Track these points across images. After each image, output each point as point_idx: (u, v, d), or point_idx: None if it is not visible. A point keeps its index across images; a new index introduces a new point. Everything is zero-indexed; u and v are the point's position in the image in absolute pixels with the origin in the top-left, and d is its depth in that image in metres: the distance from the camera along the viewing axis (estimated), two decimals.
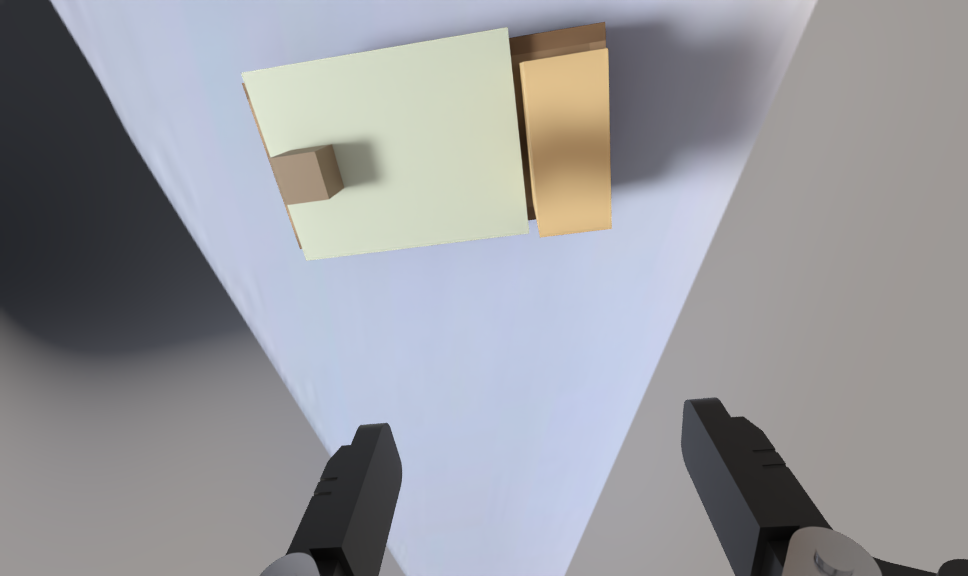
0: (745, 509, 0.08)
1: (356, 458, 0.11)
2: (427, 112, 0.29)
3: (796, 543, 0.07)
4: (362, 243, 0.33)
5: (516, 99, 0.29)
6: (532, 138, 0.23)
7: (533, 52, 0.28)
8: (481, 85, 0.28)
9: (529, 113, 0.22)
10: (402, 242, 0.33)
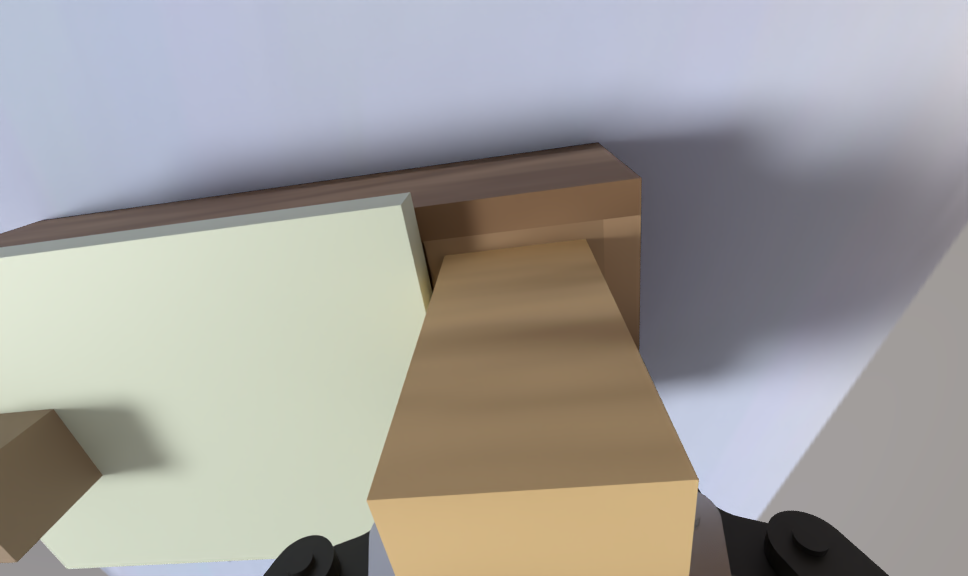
0: None
1: None
2: (240, 362, 0.13)
3: None
4: (163, 550, 0.17)
5: None
6: None
7: (475, 234, 0.12)
8: (352, 318, 0.12)
9: None
10: (238, 552, 0.17)
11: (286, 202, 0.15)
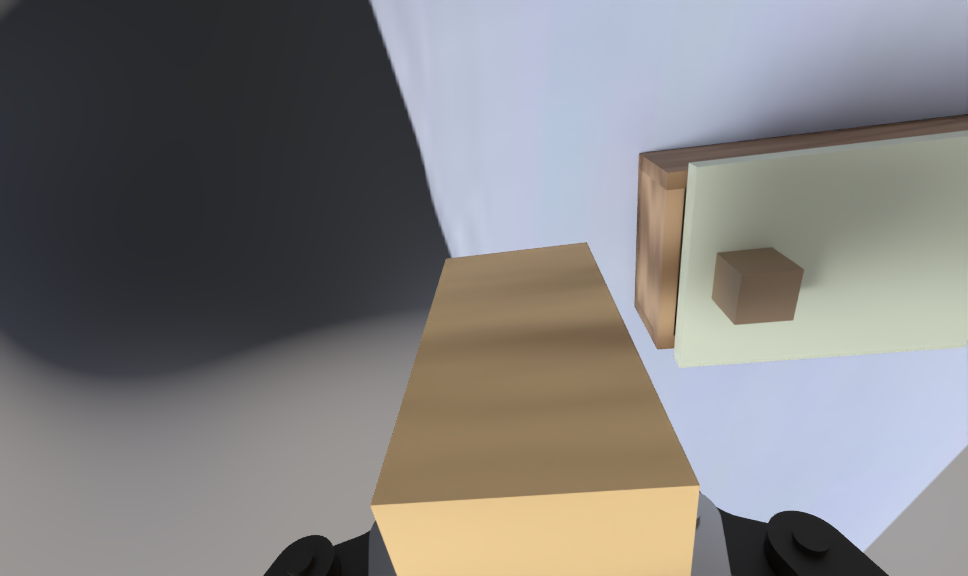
0: None
1: None
2: (908, 216, 0.24)
3: None
4: (756, 352, 0.28)
5: None
6: None
7: None
8: None
9: None
10: (805, 352, 0.28)
11: (875, 136, 0.26)
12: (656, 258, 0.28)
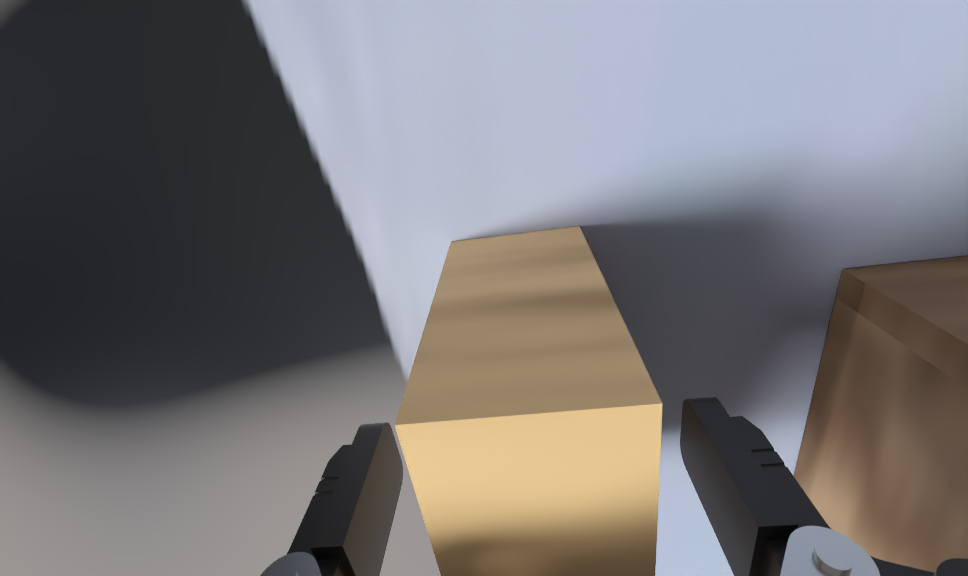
0: (744, 509, 0.08)
1: (357, 457, 0.11)
2: None
3: (794, 542, 0.07)
4: None
5: None
6: (442, 566, 0.08)
7: None
8: None
9: (428, 524, 0.08)
10: None
11: None
12: (919, 535, 0.12)
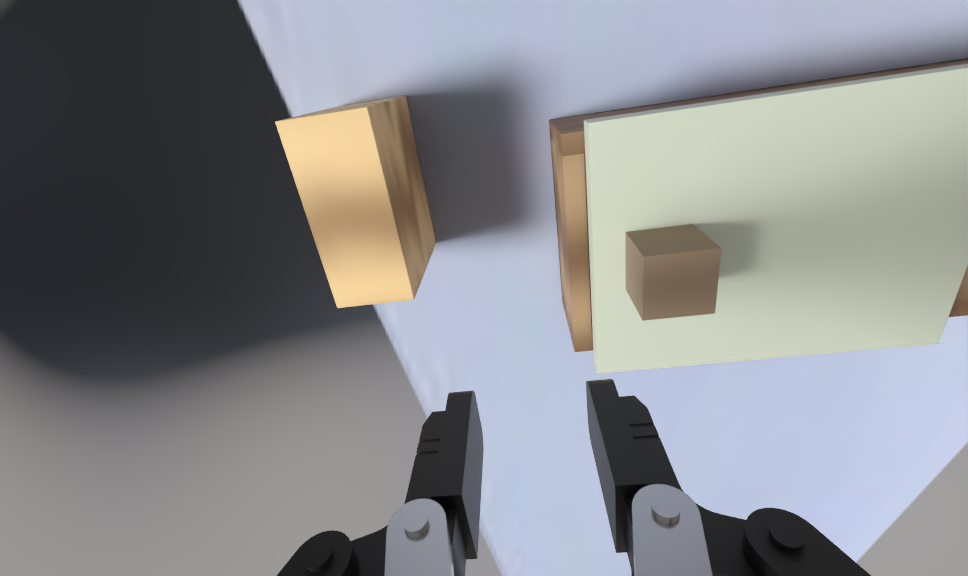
0: (610, 472, 0.10)
1: (454, 420, 0.11)
2: (857, 181, 0.19)
3: (636, 507, 0.08)
4: (687, 353, 0.23)
5: None
6: (304, 204, 0.20)
7: None
8: (960, 143, 0.18)
9: (295, 177, 0.20)
10: (746, 353, 0.23)
11: None
12: (565, 242, 0.24)
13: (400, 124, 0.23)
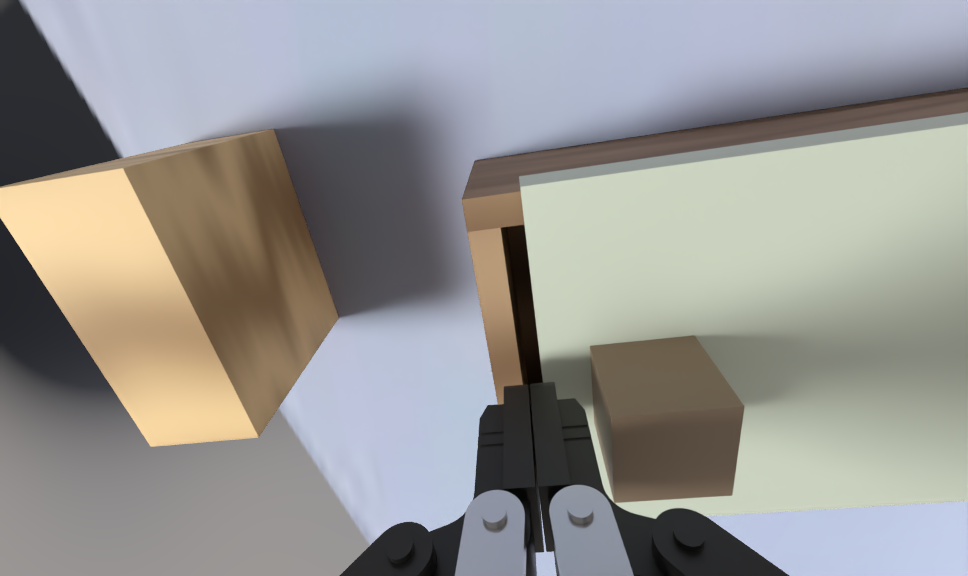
0: (537, 473, 0.10)
1: (514, 413, 0.11)
2: (963, 275, 0.12)
3: (554, 513, 0.09)
4: (687, 502, 0.16)
5: None
6: (64, 310, 0.13)
7: None
8: None
9: (38, 273, 0.12)
10: (775, 503, 0.16)
11: (865, 120, 0.14)
12: None
13: (249, 174, 0.16)
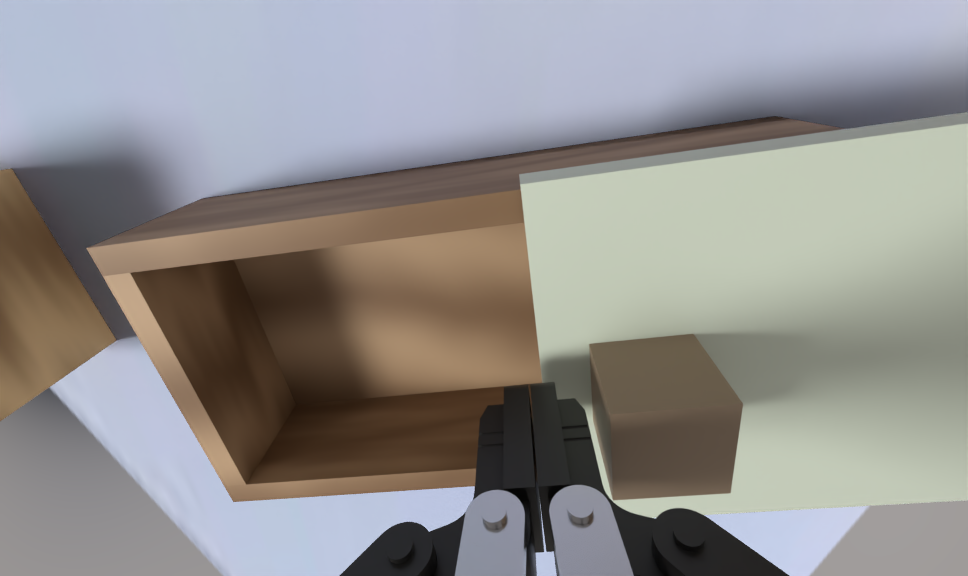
0: (537, 473, 0.10)
1: (514, 413, 0.11)
2: (961, 275, 0.12)
3: (554, 513, 0.09)
4: (686, 501, 0.16)
5: None
6: None
7: None
8: None
9: None
10: (773, 502, 0.16)
11: (486, 173, 0.15)
12: None
13: None
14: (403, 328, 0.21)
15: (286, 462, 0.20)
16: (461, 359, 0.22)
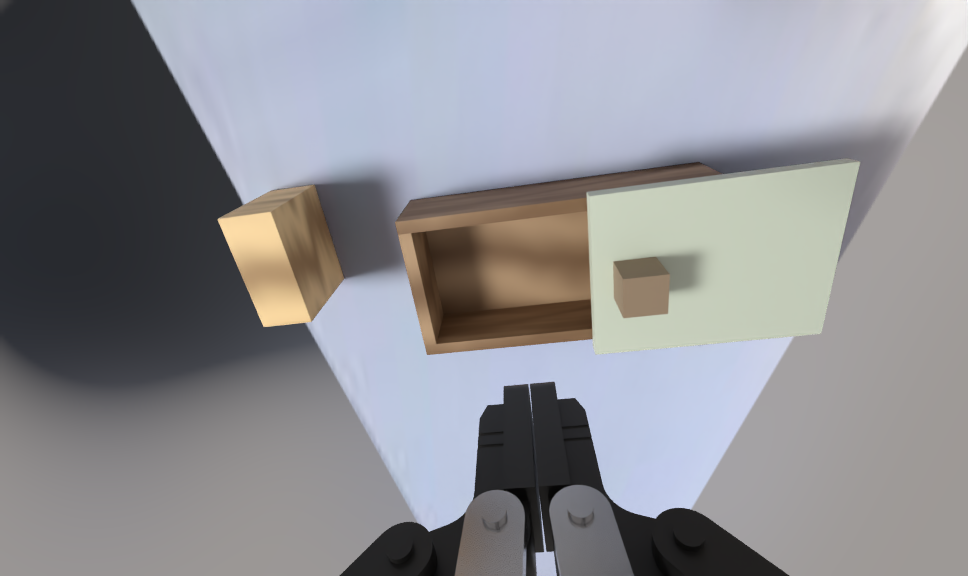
0: (537, 473, 0.10)
1: (514, 413, 0.11)
2: (757, 231, 0.30)
3: (554, 513, 0.09)
4: (655, 340, 0.35)
5: None
6: (238, 264, 0.33)
7: None
8: (818, 209, 0.30)
9: (231, 249, 0.32)
10: (695, 340, 0.34)
11: (564, 189, 0.34)
12: None
13: (306, 208, 0.36)
14: (509, 269, 0.40)
15: (452, 335, 0.38)
16: (538, 286, 0.40)
